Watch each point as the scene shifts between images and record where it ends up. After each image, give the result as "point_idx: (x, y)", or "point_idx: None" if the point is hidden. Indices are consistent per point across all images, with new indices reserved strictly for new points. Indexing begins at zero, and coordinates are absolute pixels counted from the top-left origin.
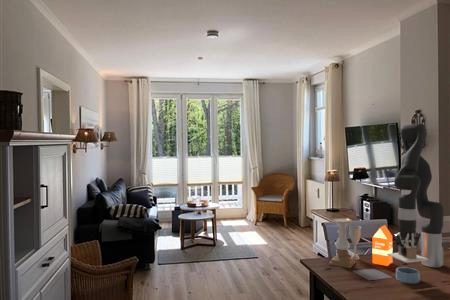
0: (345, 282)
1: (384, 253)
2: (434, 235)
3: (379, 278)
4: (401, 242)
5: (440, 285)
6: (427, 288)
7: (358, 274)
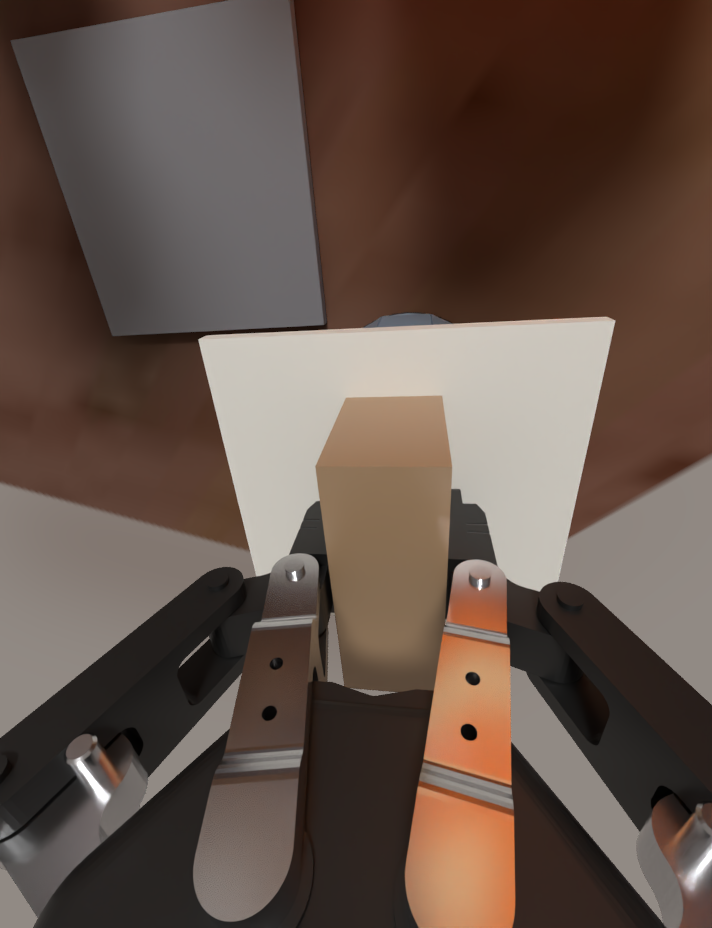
0: None
1: None
2: None
3: (205, 322)
4: (207, 703)
5: None
6: None
7: (60, 175)
